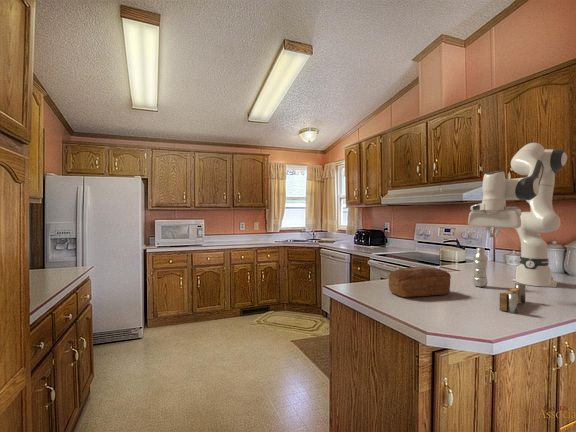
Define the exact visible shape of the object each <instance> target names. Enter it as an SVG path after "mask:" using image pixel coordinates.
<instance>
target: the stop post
mask: <svg viewBox="0 0 576 432" xmlns="http://www.w3.org/2000/svg"><path fill="white" fill-rule="evenodd" d="M518 305H519V304H518V295H517V294H513V293H508V311H507V312H508V313H509V314H514V315H517V314H518V311H519V310H518V309H519V307H518Z"/></svg>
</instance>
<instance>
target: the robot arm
mask: <svg viewBox="0 0 576 432" xmlns="http://www.w3.org/2000/svg"><path fill="white" fill-rule="evenodd" d="M567 160H568V154H567V152H566V150H564V149H560V148H554V149H551V148H550V149H547V148H546V149H545V147H544V146H543V145H542V144H541V143H538V142H530V143H526V144H525V145H524V146H522V147H521V148H520V149H519V150H518V151H517V152H516V153H515V154H514V155H513V156H512V158H511V160H510V166H511V169H512V171H513V172H514V173H516V174H517V175H519V176H524V177H519V178H507V177H506V175H505V171H503V170H495V171H489V172H485V174H484V175H483V179H482V188H481V189H482V194H483V195H482V201H481V203H478V204H473V205H471V206H470V212H469V214H468V218H467V219H468V220H467V224H468V226H469V227H477V228H478V227H479V228H480V227H481V228H483V227H484V228H486V229H485V230H486V231H487V233H488V238H498V235H499V233H500V232H501V229H502V228H508V229H515V231H516V232H517V234H518V237H519V242H520V257H519V265H517V266H516V272H515V278H512V281H514V282H516V283H518V284H525V286H527V285H528V286H535V287H545V288H546V287H549V288H550V287H551V288H557V286H558V281H557V280H555V279H554V277H553V275H552V274H553V273H552V270H551V268H550V266H549V264H550V263H549V258H548V243H547V242H546V241H545V240H544V239H543V237H542V236H541V234H543V233H544V234H546V233H551V232H555V231H557V230H559V228H560V226H561V224H562V223H561V218H560V216H559V215H558V214H557V213H556V211H555V209H554V206H553V196H554V195H553V194H554V189H555V183H556V181H555V180H556V178H555V177H556V173H558V172H559V171H560V170H562V169H563V168H564V167H565V166H566V163H567ZM513 200H514V201H515V200H516V201H518V200H520V201H522V200H523V201H526V203H528V204H529V208H530V211H522V209H521V208H520V207H518V206H507V205H506V202H507V201H513ZM492 228H495V232H492Z"/></svg>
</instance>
